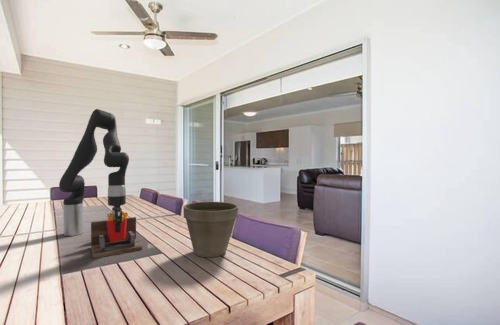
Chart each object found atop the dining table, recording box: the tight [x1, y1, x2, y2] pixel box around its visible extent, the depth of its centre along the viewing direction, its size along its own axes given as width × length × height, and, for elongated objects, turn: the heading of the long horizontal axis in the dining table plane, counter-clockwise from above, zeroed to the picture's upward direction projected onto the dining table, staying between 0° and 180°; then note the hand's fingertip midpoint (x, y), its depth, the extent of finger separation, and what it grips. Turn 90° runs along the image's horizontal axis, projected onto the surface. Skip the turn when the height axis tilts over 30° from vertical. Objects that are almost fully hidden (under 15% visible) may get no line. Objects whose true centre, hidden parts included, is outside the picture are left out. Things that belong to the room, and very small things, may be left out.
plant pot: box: [182, 201, 239, 258], centre depth 125 cm, size 25×25×22 cm
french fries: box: [106, 210, 128, 242], centre depth 128 cm, size 9×4×13 cm, turn 141°
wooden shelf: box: [90, 216, 143, 259], centre depth 129 cm, size 17×20×12 cm
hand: (117, 230), depth 127 cm, fingers closed on french fries, 4 cm apart
